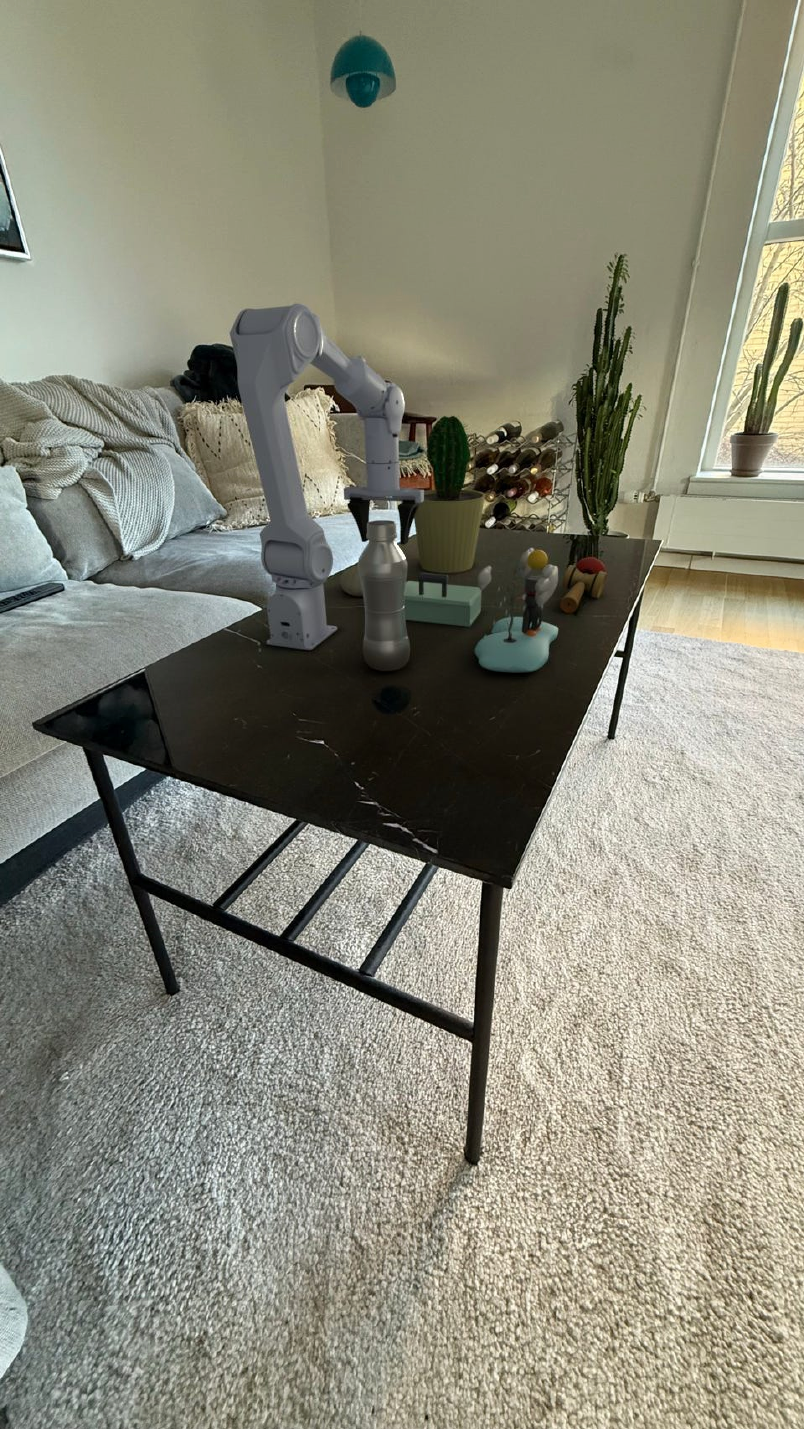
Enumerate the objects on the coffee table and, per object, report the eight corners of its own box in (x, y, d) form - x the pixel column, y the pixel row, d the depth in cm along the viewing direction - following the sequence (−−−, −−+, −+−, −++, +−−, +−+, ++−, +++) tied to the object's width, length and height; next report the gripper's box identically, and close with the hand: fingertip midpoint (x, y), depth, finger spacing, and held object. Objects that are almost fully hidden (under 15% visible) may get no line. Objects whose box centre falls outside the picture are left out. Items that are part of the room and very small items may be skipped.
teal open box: (469, 627, 98) (470, 605, 96) (393, 618, 102) (393, 597, 100) (480, 612, 104) (481, 591, 102) (408, 604, 108) (408, 585, 106)
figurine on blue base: (501, 624, 99) (507, 531, 91) (566, 633, 95) (578, 536, 87) (460, 672, 83) (464, 564, 75) (536, 685, 79) (548, 572, 72)
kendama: (594, 623, 102) (614, 580, 114) (591, 589, 98) (612, 549, 111) (549, 624, 106) (574, 583, 118) (545, 591, 102) (571, 552, 115)
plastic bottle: (405, 678, 82) (402, 529, 72) (358, 675, 83) (348, 528, 73) (414, 659, 87) (412, 518, 77) (369, 656, 88) (362, 517, 79)
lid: (469, 606, 96) (470, 580, 94) (392, 598, 100) (391, 573, 98) (481, 591, 102) (482, 566, 100) (408, 584, 106) (407, 560, 104)
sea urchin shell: (392, 588, 110) (360, 558, 108) (364, 617, 113) (332, 589, 111) (394, 574, 118) (364, 546, 116) (367, 601, 121) (337, 574, 119)
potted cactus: (493, 561, 132) (502, 410, 118) (462, 579, 121) (467, 414, 106) (433, 553, 140) (434, 410, 125) (398, 569, 128) (394, 414, 114)
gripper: (429, 460, 104) (429, 539, 110) (353, 458, 108) (357, 534, 115) (416, 465, 98) (416, 548, 104) (336, 463, 102) (341, 543, 109)
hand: (384, 542), depth 109 cm, fingers open, 7 cm apart
